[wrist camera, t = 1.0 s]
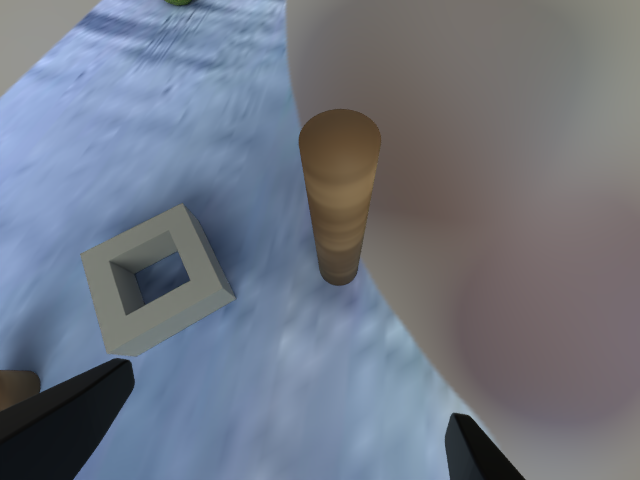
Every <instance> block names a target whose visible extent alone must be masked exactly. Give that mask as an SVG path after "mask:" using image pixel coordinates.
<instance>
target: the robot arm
mask: <svg viewBox="0 0 640 480" xmlns="http://www.w3.org/2000/svg"><path fill="white" fill-rule="evenodd" d="M134 385H135V379H134V374H133V368H132V363H131V362H130V360H126V359H120V358H115V359H112V360H110V361H108V362H106V363H103V364H101V365H99V366H97V367H95V368H93V369H90V370H88V371H86V372H84V373H82V374H80V375H77V376H75V377H73V378H71V379H69V380H67V381H65V382H62V383H60V384H58V385H56V386H54V387H52V388H49V389H47V390H45V391H43V392H41V393H39V394H36V395H34V396H32V397H30V398H28V399H26V400H23V401H21V402H19V403H17V404H15V405H13V406H10V407H8V408H6V409H4V410H2V411H0V480H73V479H74V478H75V476H76V475H77V474H78V472H79V471H80V470H81V468H82V467H83V466H84V464H85V463H86V462H87V460H88V459H89V457H90V456H91V455H92V453H93V452H94V450H95V449H96V448H97V446H98V445H99V443H100V442H101V440H102V439H103V437H104V436H105V434H106V432H107V431H108V429H109V428H110V426H111V424H112V423H113V421H114V420H115V418H116V416H117V415H118V413H119V412H120V410H121V408H122V407H123V405H124V403H125V402H126V400H127V399H128V397H129V395H130V394H131V392H132V390H133V388H134ZM445 448H446V455H447V462H448V468H449V475H450V480H525V478H524V477H523V476H522V475H521V474H520V473H519V472H518V470H517V469H516V468H515V467H514V466H513V465H512V463H511V462H510V461H509V460H508V459H507V458H506V457H505V455H504V454H503V453H502V452H501V451H500V450H499V449H498V447H497V446H496V445H495V444H494V443H493V442H492V441H491V439H490V438H489V437H488V436H487V435H486V434H485V432H484V431H483V430H482V429H481V428H480V427H479V426H478V424H477V423H476V422H475V421H474V420H473V419H472V418H471V417H470V416H469V415H466V414H460V413H452V415H451V416H450V420H449V423H448V427H447V430H446V434H445Z"/></svg>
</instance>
